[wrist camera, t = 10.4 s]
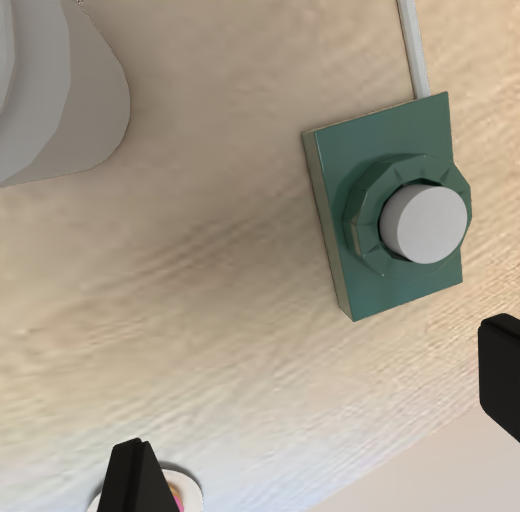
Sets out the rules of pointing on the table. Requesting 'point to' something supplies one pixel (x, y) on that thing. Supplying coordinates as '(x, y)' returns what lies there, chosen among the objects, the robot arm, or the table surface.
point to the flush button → (423, 222)
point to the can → (56, 92)
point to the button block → (382, 199)
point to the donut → (175, 492)
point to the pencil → (414, 47)
